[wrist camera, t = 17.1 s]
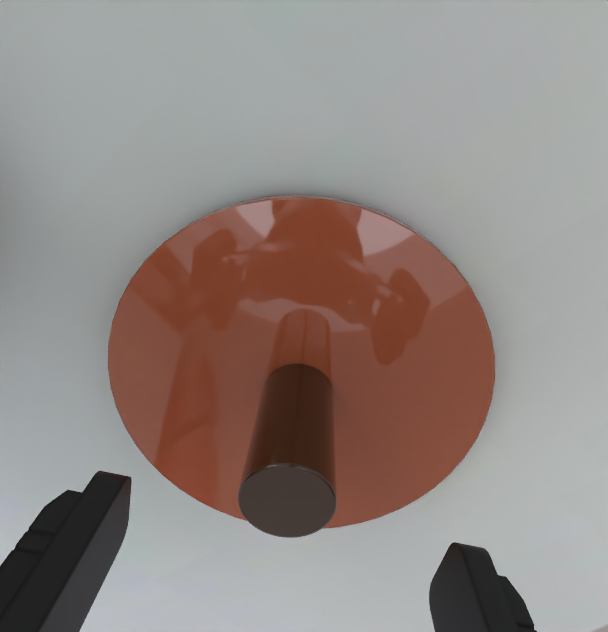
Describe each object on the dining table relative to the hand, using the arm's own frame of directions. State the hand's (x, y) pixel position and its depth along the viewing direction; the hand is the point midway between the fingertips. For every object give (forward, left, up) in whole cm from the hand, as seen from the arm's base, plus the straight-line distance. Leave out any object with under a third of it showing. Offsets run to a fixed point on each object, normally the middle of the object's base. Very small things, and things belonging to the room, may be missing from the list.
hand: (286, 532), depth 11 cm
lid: (0, 0, -6) cm, 6 cm away
